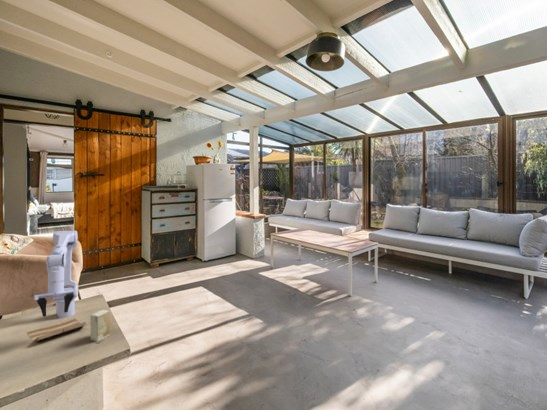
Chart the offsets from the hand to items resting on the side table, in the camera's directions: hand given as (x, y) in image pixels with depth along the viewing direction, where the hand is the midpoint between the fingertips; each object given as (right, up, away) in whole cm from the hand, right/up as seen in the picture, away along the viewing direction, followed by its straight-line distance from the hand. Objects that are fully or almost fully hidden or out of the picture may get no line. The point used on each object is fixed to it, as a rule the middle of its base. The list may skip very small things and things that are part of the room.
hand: (55, 314), depth 123 cm
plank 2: (+3, -10, +7) cm, 12 cm away
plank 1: (-3, -10, 0) cm, 11 cm away
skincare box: (+18, -13, +3) cm, 22 cm away
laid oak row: (-7, -11, +9) cm, 16 cm away
